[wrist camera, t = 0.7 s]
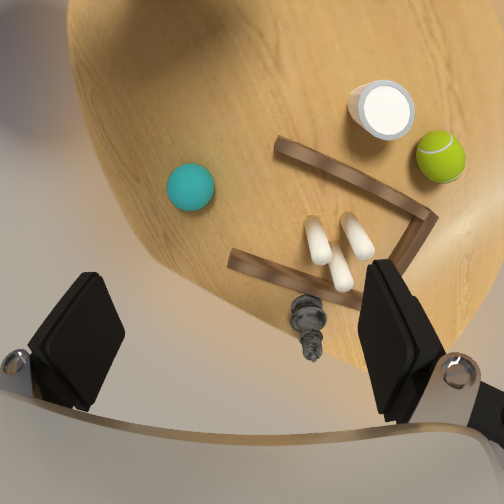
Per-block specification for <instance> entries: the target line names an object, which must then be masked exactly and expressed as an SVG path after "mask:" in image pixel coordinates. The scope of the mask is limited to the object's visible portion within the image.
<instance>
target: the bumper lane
mask: <svg viewBox="0 0 504 504" xmlns="http://www.w3.org/2000/svg"><path fill="white" fill-rule="evenodd" d="M274 150H275V151H278V152H280V153H283V154H286V155H288V156H291V157H293V158H295V159H298V160H300V161H303V162H305V163H307V164H310V165H312V166H314V167H317V168H319V169H321V170H324V171H326V172H328V173H330V174H333V175H335V176H337V177H339V178H341V179H344V180H346V181H348V182H350V183H352V184H354V185H356V186H359V187H361V188H363V189H365V190H367V191H369V192H371V193H373V194H375V195H377V196H379V197H381V198H383V199H385V200H387V201H389V202H391V203H393V204H394V205H396V206H398V207H400V208H402V209H404V210H406V211H408V212H409V213H411V214H413V215H414V217H413V219H412V220H411V222H410V224H409V226H408V227H407V229H406V231H405V232H404V234H403V236H402V237H401V239H400V241H399V242H398V244H397V245H396V247H395V249H394V250H393V252H392V253H391V255H390V257H389V258H388V259H391V260H392V262H393V263H394V265H395V267H396V268H397V270H398V272H399V273H400V275H401V277H402V275H403V274H404V272H405V271H406V269H407V268H408V266H409V265H410V263H411V262H412V260H413V259H414V257H415V256H416V254H417V253H418V251H419V249H420V248H421V246H422V245H423V243H424V242H425V240H426V238H427V237H428V235H429V233H430V232H431V230H432V228H433V227H434V225H435V223H436V222H437V220H438V218H439V217H438V216H437V215H436V214H435V213H433V212H432V211H431V210H430V209H429V208H427V207H425V206H424V205H422V204H420V203H418V202H417V201H415V200H413V199H412V198H410V197H408V196H406V195H404V194H403V193H401V192H399V191H397V190H395V189H393V188H392V187H390V186H388V185H386V184H384V183H382V182H380V181H378V180H376V179H375V178H373V177H371V176H369V175H367V174H365V173H363V172H361V171H359V170H357V169H354V168H352V167H350V166H348V165H346V164H344V163H342V162H340V161H338V160H335V159H333V158H331V157H329V156H327V155H324V154H322V153H320V152H318V151H315V150H313V149H311V148H308V147H306V146H304V145H301V144H299V143H297V142H294V141H292V140H289V139H287V138H284V137H282V136H279V135H278V137H277V140H276V142H275V145H274ZM227 267H228V268H231V269H234V270H237V271H240V272H243V273H246V274H249V275H252V276H255V277H257V278H260V279H263V280H266V281H269V282H273V283H276V284H279V285H282V286H285V287H288V288H291V289H294V290H297V291H300V292H303V293H306V294H309V295H312V296H315V297H319V298H322V299H325V300H328V301H331V302H334V303H337V304H340V305H344V306H347V307H350V308H353V309H356V310H360V311H361V305H362V299H363V293H361V292H358V291H356V290H353V289H350V290H349V291H347V292H339V291H337V290H336V288H335V285H334V283H332V282H329V281H327V280H324V279H321V278H318V277H315V276H312V275H309V274H306V273H303V272H300V271H298V270H295V269H292V268H289V267H286V266H283V265H280V264H277V263H274V262H272V261H269V260H266V259H263V258H260V257H257V256H254V255H251V254H249V253H246V252H243V251H240V250H237V249H234V248H232V251H231V253H230V256H229V260H228V265H227Z"/></svg>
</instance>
